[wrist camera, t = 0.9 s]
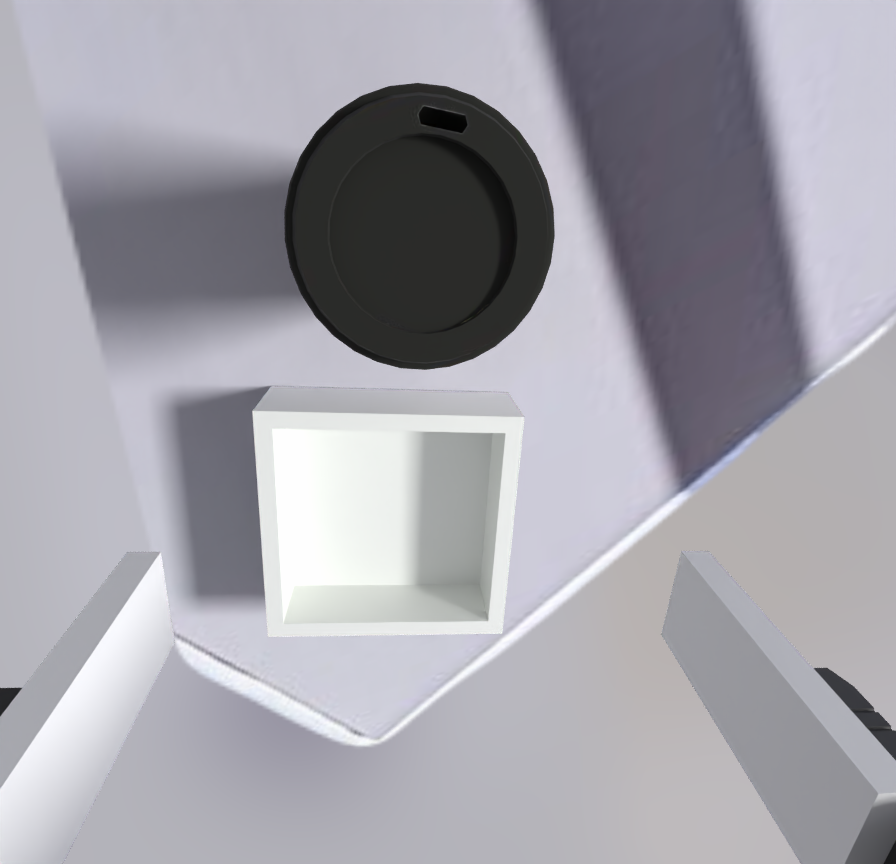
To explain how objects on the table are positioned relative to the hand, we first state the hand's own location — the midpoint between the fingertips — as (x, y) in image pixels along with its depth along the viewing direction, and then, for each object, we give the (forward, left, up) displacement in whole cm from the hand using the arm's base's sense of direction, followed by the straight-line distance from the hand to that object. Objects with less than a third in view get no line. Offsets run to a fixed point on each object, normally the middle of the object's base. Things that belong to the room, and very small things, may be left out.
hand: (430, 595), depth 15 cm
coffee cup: (-8, 0, -23) cm, 25 cm away
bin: (+9, -1, -23) cm, 24 cm away
